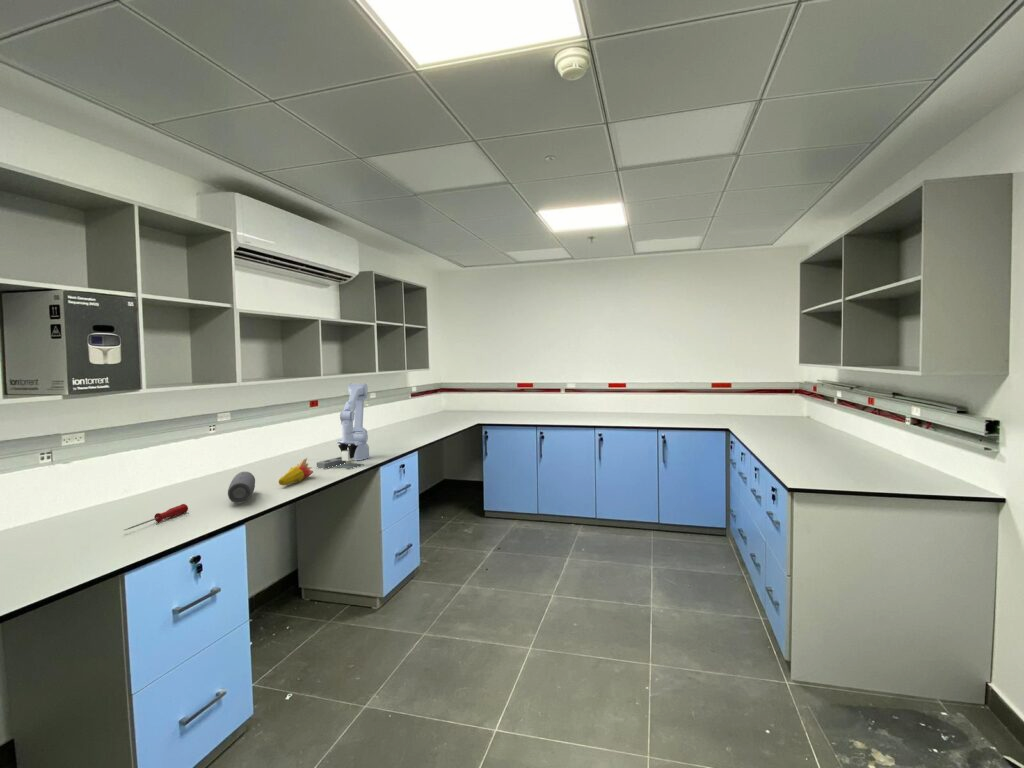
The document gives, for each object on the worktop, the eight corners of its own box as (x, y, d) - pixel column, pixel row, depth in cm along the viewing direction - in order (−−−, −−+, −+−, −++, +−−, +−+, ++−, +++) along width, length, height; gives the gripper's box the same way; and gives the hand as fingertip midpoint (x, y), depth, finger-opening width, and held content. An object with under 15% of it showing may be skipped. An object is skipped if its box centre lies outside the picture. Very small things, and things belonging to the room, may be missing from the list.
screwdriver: (119, 535, 165) (119, 524, 165) (181, 512, 190) (180, 503, 190) (128, 535, 165) (128, 525, 164) (189, 512, 189) (189, 503, 189)
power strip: (342, 461, 281) (341, 455, 281) (349, 462, 278) (349, 456, 278) (316, 468, 265) (316, 461, 265) (324, 469, 262) (324, 462, 262)
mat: (348, 463, 275) (348, 462, 275) (363, 465, 271) (363, 464, 271) (333, 467, 266) (333, 466, 266) (348, 469, 261) (348, 468, 261)
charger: (348, 461, 271) (348, 449, 271) (355, 462, 269) (354, 450, 269) (341, 463, 267) (341, 451, 266) (348, 463, 265) (347, 451, 264)
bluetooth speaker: (232, 494, 215) (231, 471, 214) (256, 491, 219) (255, 469, 218) (226, 508, 194) (225, 483, 194) (253, 505, 198) (252, 480, 197)
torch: (279, 496, 224) (306, 476, 248) (294, 488, 223) (319, 469, 247) (269, 481, 223) (297, 462, 247) (284, 473, 222) (310, 455, 246)
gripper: (332, 432, 267) (332, 457, 268) (352, 434, 260) (353, 460, 261) (342, 431, 273) (342, 455, 274) (362, 432, 267) (362, 457, 267)
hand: (348, 457), depth 268 cm, fingers closed on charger, 4 cm apart
